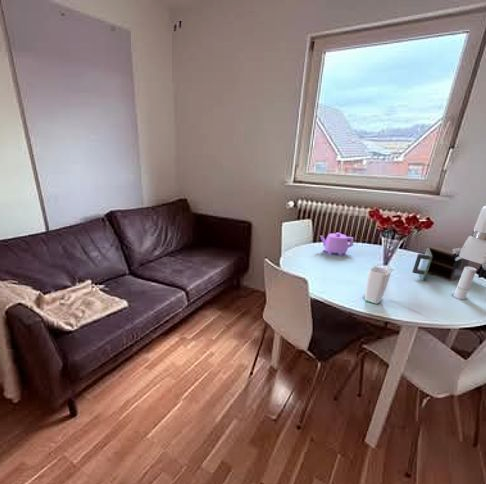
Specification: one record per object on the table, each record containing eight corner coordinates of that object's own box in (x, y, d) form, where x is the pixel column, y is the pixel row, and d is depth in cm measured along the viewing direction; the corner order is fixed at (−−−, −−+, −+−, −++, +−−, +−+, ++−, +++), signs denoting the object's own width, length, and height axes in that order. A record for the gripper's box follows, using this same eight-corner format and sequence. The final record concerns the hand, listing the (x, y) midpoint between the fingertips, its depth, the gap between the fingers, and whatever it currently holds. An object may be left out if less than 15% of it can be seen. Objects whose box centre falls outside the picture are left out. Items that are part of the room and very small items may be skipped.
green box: (410, 279, 160) (418, 254, 154) (409, 269, 172) (416, 246, 166) (424, 282, 157) (432, 256, 152) (421, 271, 169) (429, 247, 164)
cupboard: (450, 282, 158) (460, 256, 152) (421, 271, 170) (429, 247, 164) (462, 278, 163) (472, 253, 157) (433, 267, 175) (441, 244, 169)
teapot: (349, 250, 199) (353, 231, 194) (352, 257, 188) (357, 237, 183) (317, 247, 203) (320, 228, 198) (318, 254, 192) (321, 234, 187)
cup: (383, 300, 139) (392, 270, 133) (378, 306, 135) (386, 275, 128) (366, 295, 144) (374, 265, 138) (361, 300, 139) (368, 270, 133)
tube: (461, 301, 140) (473, 271, 133) (451, 297, 143) (462, 267, 137) (466, 299, 141) (478, 269, 135) (456, 295, 145) (467, 265, 139)
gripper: (513, 240, 124) (495, 279, 131) (465, 229, 138) (451, 264, 145) (503, 243, 121) (486, 282, 128) (455, 231, 135) (442, 267, 142)
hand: (467, 272), depth 137 cm, fingers open, 9 cm apart
